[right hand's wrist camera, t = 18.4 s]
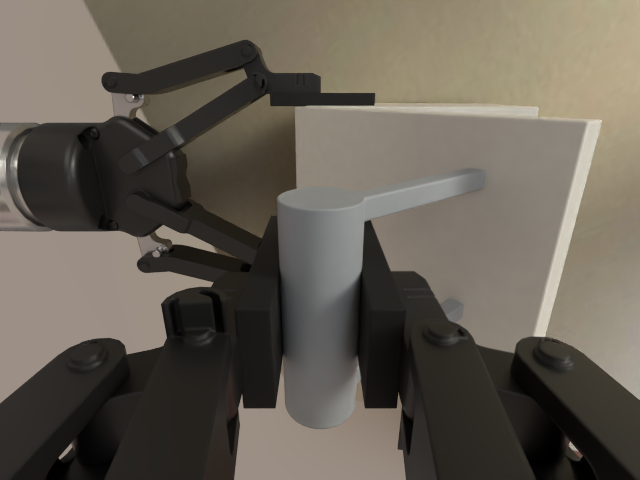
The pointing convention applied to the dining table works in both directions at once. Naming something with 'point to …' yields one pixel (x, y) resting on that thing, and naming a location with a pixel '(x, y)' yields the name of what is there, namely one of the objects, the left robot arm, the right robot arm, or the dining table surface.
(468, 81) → the dining table surface
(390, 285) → the right robot arm
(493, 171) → the grey and white piece
